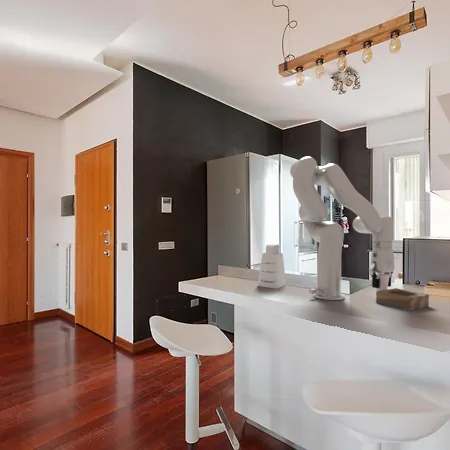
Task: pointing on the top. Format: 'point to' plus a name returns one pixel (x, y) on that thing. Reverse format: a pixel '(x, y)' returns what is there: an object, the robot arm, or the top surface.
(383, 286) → the smoothie
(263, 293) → the top surface
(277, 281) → the grater
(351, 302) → the top surface
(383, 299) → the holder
